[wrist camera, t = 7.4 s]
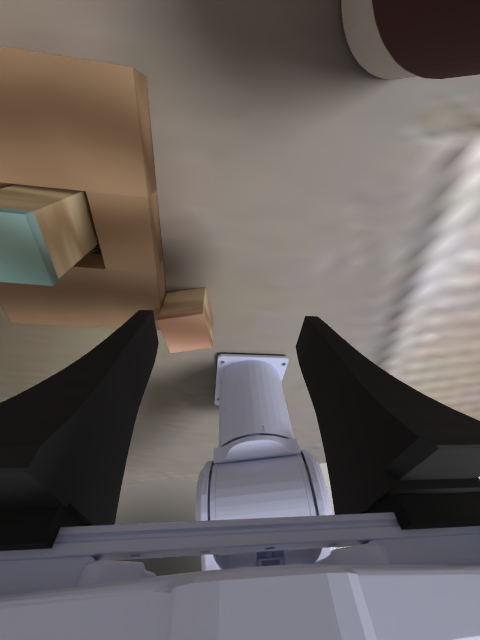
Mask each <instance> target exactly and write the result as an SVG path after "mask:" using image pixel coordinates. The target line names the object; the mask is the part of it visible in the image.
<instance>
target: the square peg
mask: <svg viewBox="0 0 480 640" xmlns="http://www.w3.org/2000/svg"><path fill="white" fill-rule="evenodd" d="M97 244H99V241H98V237H97V233H96V229H95V225H94V221H93V217H92V213H91V209H90V205H89V201H88V197H87V194H86V191H79V190H69V189H60V188H50V187H40V186H31V185H21V184H17V185H13V186H9V187H5V188H1V189H0V282H8V283H21V284H34V285H46V286H54V285H55V284H56V283H57V282H58V281H59V278H60V277H61V276H62V275H64V274H65V273H66V272H67V271H68V270H69V269H70V268H71V267H73V266H74V265H75V264H76V263H77V262H78V261H79V260H81V259H82V258H83V257H84V256H85V255H86V254H87V253H88V252H90V251H91V250H92V249H93V248H94V247H95V246H96V245H97Z"/></svg>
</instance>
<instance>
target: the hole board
mask: <svg viewBox="0 0 480 640" xmlns="http://www.w3.org/2000/svg"><path fill="white" fill-rule="evenodd" d="M17 184H21V185H31V186H40V187H50V188H60V189H69V190H79V191H86V194H87V197H88V201H89V205H90V209H91V213H92V217H93V221H94V225H95V229H96V233H97V237H98V241H99V245H100V248H101V252H102V254H97V253H87V254H86V255H85V256H84V257H83V258H82V259H81V260H79V261H78V262H77V263H76V264H75V265H74V266H73V267H71V268H70V269H69V270H68V271H67V272H66V273H65V274H64V275H62V276H61V277H60V278H59V281H58V282H57V283H56V284H55V285H54V286H46V285H34V284H21V283H8V282H0V305H1V307H2V308H3V310H4V312H5V313H6V315H7V317H8V318H9V320H10V322H11V323H17V324H39V325H61V326H83V327H105V328H119V327H121V326H122V325H123V324H124V323H125V322H126V321H127V320H128V319H130V318H131V317H132V316H133V315H134V314H135V313H136V312H137V311H139V310H153V313H154V319H155V325H156V330H160V328H159V325H158V323H157V321H156V320H157V317H158V316H159V314H160V311H161V308H162V305H163V303H164V300H165V297H166V284H165V274H164V263H163V252H162V241H161V231H160V220H159V209H158V198H157V188H156V177H155V166H154V155H153V145H152V134H151V123H150V112H149V102H148V91H147V80H146V77H145V76H144V75H143V74H141V73H140V72H138V71H137V70H136V69H134V68H133V67H128V66H121V65H115V64H109V63H103V62H96V61H90V60H84V59H78V58H71V57H65V56H59V55H53V54H46V53H40V52H34V51H28V50H21V49H15V48H9V47H3V46H0V189H1V188H5V187H9V186H13V185H17Z"/></svg>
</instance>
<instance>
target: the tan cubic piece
mask: <svg viewBox="0 0 480 640" xmlns="http://www.w3.org/2000/svg"><path fill="white" fill-rule="evenodd" d="M156 321H157V323H158V325H159V328H160V330H161V332H162V334H163V337H164V339H165V341H166V343H167V345H168V348H169V350H170V352H171V353H175V352H182V351H190V350H197V349H204V348H212V345H213V342H212V332H213V315H212V311H211V307H210V304H209V300H208V296H207V292H206V288H205V287H204V288H197V289H190V290H183V291H176V292H170V293H167V294H166V297H165V300H164V303H163V305H162V308H161V311H160V314H159V316H158V317H157V320H156Z"/></svg>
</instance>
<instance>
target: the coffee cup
mask: <svg viewBox="0 0 480 640" xmlns="http://www.w3.org/2000/svg"><path fill="white" fill-rule="evenodd" d="M341 10H342V20H343V27H344V31H345V35H346V40H347V43H348V45H349V47H350V50H351V52H352V54H353V56H354V57H355V59H356V60H357V62H358V63H359V64H360V66H361V67H363V68H364V69H365V70H366V71H367V72H369V73H370V74H372V75H374V76H376V77H379V78H383V79H401V78H408V77H415V76H420V77H423V78H432V79H444V78H453V77H461V76H470V75H478V74H480V0H341Z"/></svg>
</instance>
